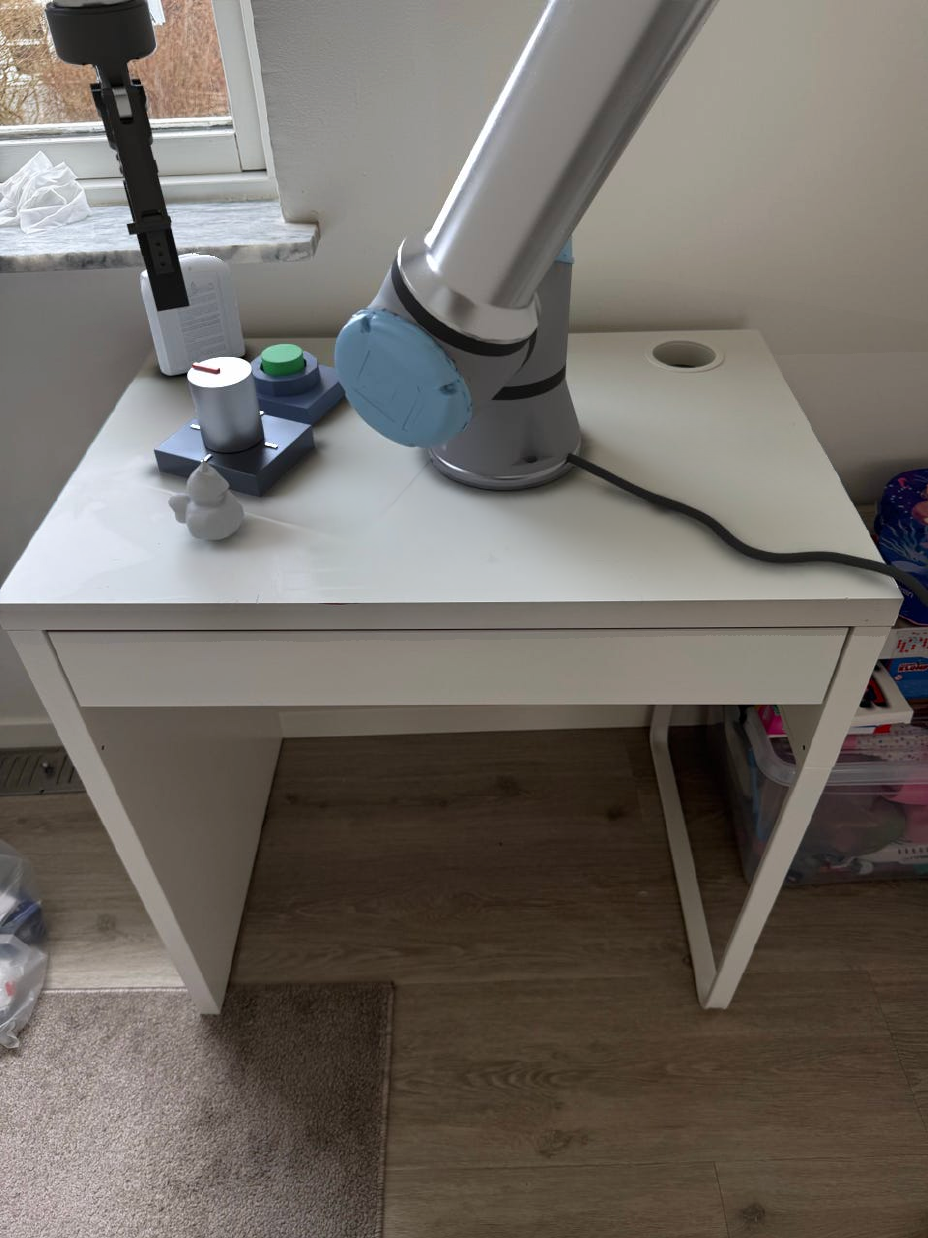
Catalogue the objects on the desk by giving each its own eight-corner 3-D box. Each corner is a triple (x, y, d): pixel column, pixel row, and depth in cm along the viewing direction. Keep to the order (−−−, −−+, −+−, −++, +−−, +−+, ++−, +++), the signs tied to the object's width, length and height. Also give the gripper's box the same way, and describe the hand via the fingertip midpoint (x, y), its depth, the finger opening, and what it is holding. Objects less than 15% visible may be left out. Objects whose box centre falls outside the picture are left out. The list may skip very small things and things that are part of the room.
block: (352, 388, 105) (348, 355, 103) (309, 427, 99) (304, 393, 97) (269, 371, 109) (264, 338, 106) (223, 407, 103) (216, 373, 100)
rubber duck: (238, 552, 84) (220, 476, 78) (166, 548, 84) (144, 472, 79) (255, 516, 88) (239, 441, 82) (187, 512, 88) (167, 438, 83)
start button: (312, 362, 103) (310, 347, 101) (290, 380, 100) (287, 365, 98) (278, 355, 104) (275, 340, 103) (255, 373, 101) (252, 358, 100)
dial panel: (315, 445, 97) (312, 423, 95) (259, 498, 90) (254, 475, 88) (219, 422, 101) (214, 400, 99) (158, 471, 94) (151, 448, 92)
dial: (275, 428, 95) (263, 360, 90) (241, 458, 91) (226, 389, 86) (226, 416, 96) (212, 349, 92) (190, 445, 92) (173, 377, 88)
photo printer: (237, 343, 114) (217, 240, 106) (252, 356, 112) (232, 251, 104) (155, 367, 110) (128, 261, 102) (168, 381, 108) (141, 274, 99)
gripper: (38, -23, 78) (111, 238, 92) (44, 30, 60) (133, 342, 74) (131, -31, 80) (188, 226, 94) (163, 18, 62) (228, 325, 76)
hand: (164, 278), depth 84 cm, fingers open, 13 cm apart
